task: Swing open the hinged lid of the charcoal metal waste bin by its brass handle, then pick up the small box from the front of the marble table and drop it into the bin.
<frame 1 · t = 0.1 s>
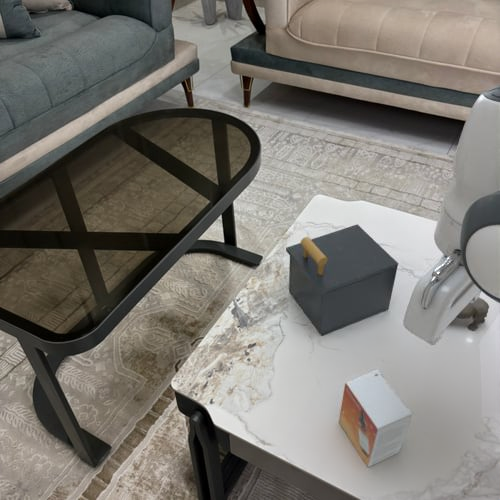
hand: (450, 318, 62), 22 cm above the table, tool pointing down, fingers open, 8 cm apart
small box: (368, 438, 74), on the table
bin: (337, 300, 95), on the table
bin lid: (341, 248, 86), point 13 cm above the table, hinge at 0.0°
rhino figurine: (444, 320, 91), on the table
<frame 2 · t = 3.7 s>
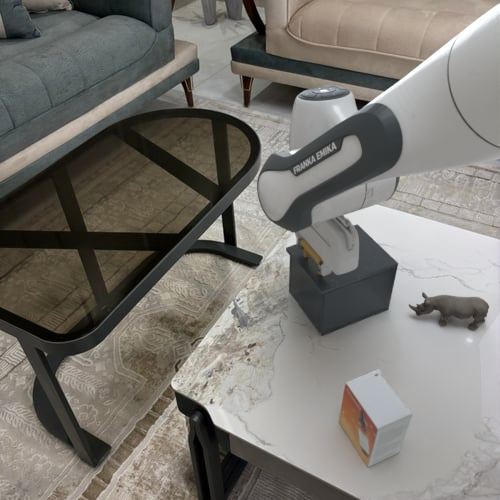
hand: (313, 259, 85), 13 cm above the table, tool pointing down, fingers closed on bin lid, 6 cm apart
bin lid: (341, 248, 86), point 13 cm above the table, hinge at 0.1°, touching gripper
everything else where it was.
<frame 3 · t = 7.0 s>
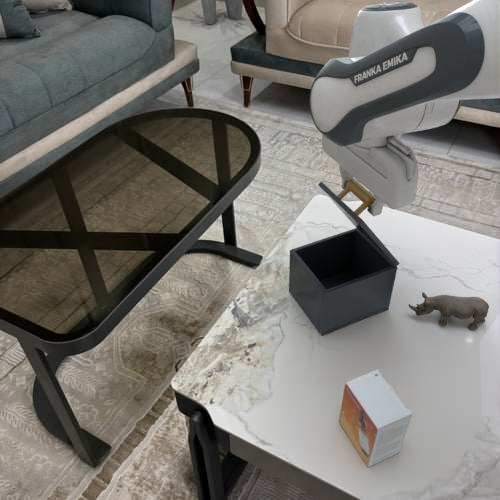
hand: (360, 201, 81), 22 cm above the table, tool pointing down, fingers closed on bin lid, 6 cm apart
bin lid: (368, 216, 84), point 18 cm above the table, hinge at 53.7°, touching gripper
everything else where it was.
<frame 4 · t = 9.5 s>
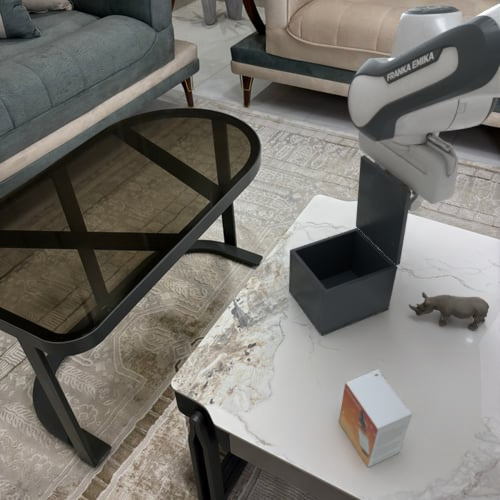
hand: (396, 196, 84), 21 cm above the table, tool pointing down, fingers open, 6 cm apart
bin lid: (390, 207, 85), point 19 cm above the table, hinge at 86.9°
everything else where it was.
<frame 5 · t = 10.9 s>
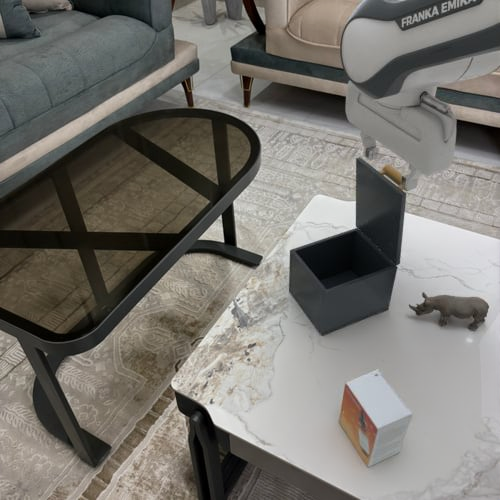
hand: (388, 171, 75), 29 cm above the table, tool pointing down, fingers open, 8 cm apart
bin lid: (388, 207, 85), point 19 cm above the table, hinge at 83.5°
everything else where it was.
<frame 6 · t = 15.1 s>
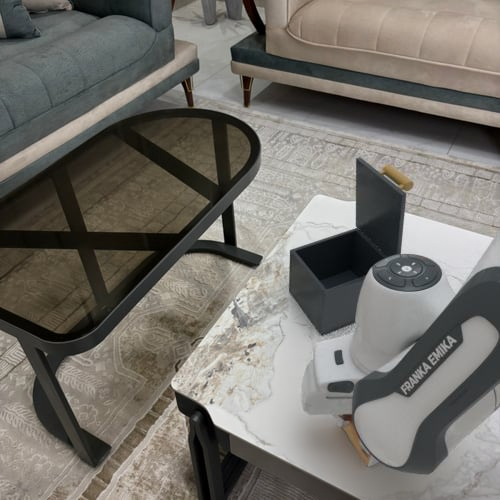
hand: (371, 421, 71), 4 cm above the table, tool pointing down, fingers closed on small box, 7 cm apart
small box: (368, 438, 74), on the table, touching gripper
everything else where it was.
when the fingers open (12 cm above the table, at t = 24.7 s): small box drops 7 cm, resting on bin.
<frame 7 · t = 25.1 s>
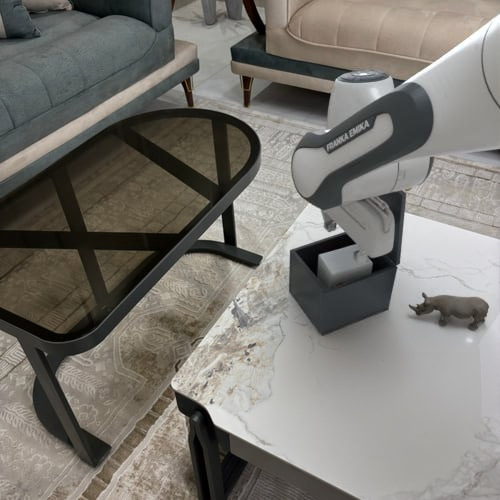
hand: (344, 244, 86), 14 cm above the table, tool pointing down, fingers open, 8 cm apart
small box: (340, 299, 94), point 1 cm above the table, touching bin
everything else where it was.
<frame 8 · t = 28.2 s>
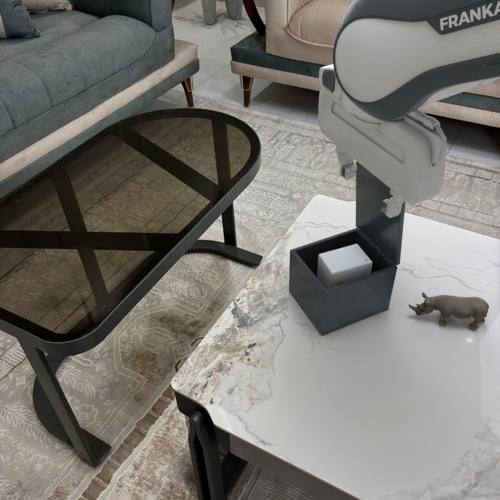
hand: (367, 194, 64), 33 cm above the table, tool pointing down, fingers open, 8 cm apart
nothing on the table moved.
at the end: bin lid at +84° (first picture: +0°); small box inside the target area in the bin (0.6 cm from its centre), point 0.5 cm above the bin's base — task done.
